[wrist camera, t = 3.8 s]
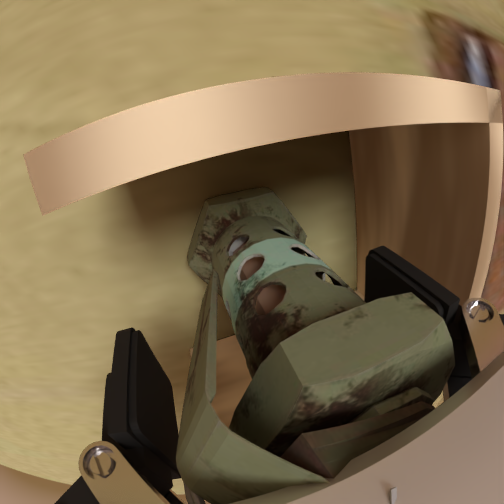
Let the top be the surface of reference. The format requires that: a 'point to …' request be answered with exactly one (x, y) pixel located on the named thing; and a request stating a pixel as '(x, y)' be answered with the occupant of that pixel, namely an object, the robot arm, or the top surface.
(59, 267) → the top surface
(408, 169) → the light wood u-shaped frame
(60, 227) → the top surface
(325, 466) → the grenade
